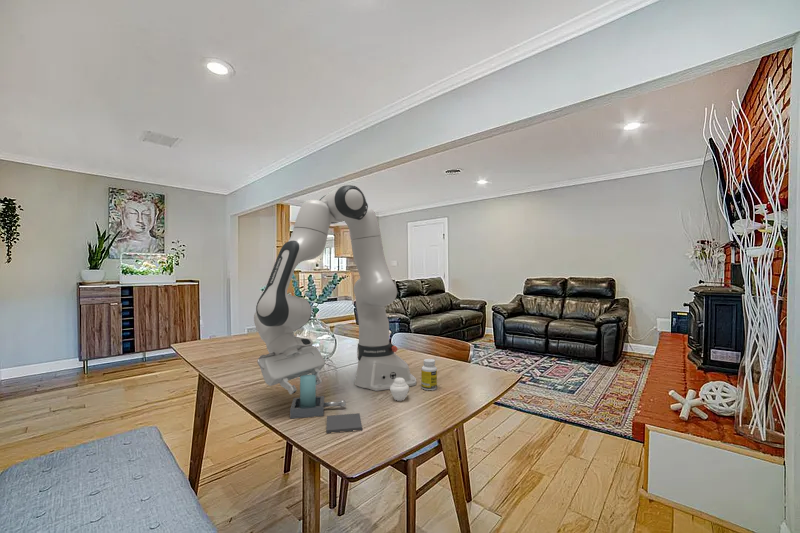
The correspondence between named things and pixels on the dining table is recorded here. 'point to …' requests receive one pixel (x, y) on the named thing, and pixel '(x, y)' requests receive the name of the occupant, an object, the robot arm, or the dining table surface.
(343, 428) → the rubber mat
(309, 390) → the teal peg
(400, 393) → the muffin
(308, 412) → the socket
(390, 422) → the dining table surface
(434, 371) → the supplement bottle
